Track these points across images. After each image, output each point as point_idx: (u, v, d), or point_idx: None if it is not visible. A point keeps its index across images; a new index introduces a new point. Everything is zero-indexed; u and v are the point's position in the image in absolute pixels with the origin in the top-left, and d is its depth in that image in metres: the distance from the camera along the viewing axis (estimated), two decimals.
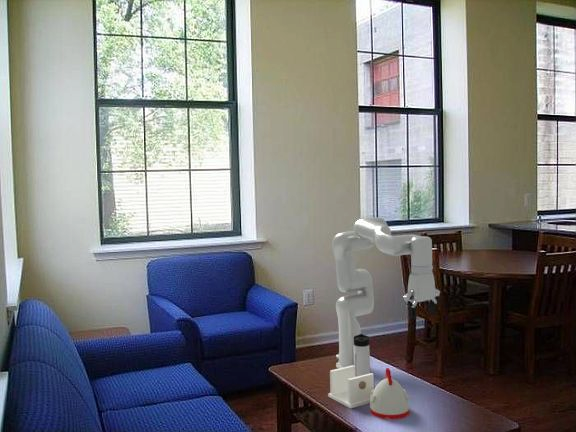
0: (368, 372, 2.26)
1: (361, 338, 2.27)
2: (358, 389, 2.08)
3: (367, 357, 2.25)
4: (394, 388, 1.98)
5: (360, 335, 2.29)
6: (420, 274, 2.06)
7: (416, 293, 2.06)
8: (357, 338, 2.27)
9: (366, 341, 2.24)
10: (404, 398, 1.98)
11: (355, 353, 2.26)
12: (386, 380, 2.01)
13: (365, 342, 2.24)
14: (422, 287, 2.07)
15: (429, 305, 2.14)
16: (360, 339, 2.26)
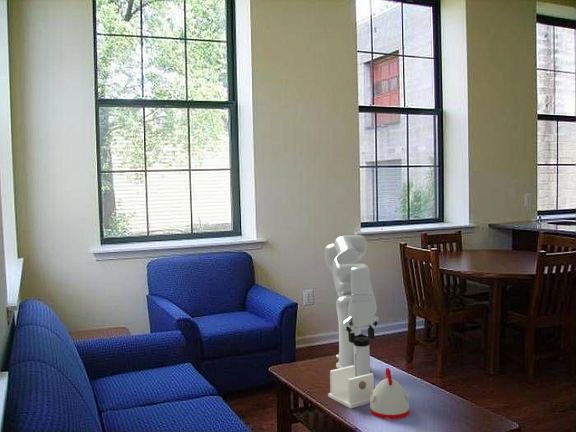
0: (368, 372, 2.26)
1: (361, 338, 2.27)
2: (358, 389, 2.08)
3: (367, 357, 2.25)
4: (394, 388, 1.98)
5: (360, 335, 2.29)
6: (358, 302, 2.22)
7: (354, 319, 2.22)
8: (357, 338, 2.27)
9: (366, 341, 2.24)
10: (404, 398, 1.98)
11: (355, 353, 2.26)
12: (386, 380, 2.01)
13: (365, 342, 2.24)
14: (360, 314, 2.23)
15: (369, 330, 2.29)
16: (360, 339, 2.26)
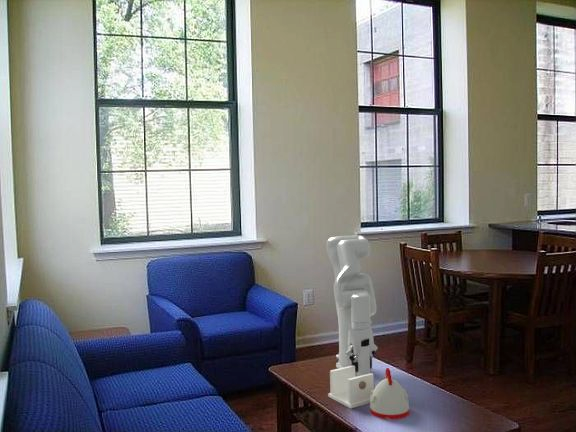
0: (368, 372, 2.26)
1: None
2: (358, 389, 2.08)
3: (367, 357, 2.25)
4: (394, 388, 1.98)
5: None
6: (358, 329, 2.23)
7: (355, 347, 2.23)
8: None
9: (366, 341, 2.24)
10: (404, 398, 1.98)
11: None
12: (386, 380, 2.01)
13: (365, 342, 2.24)
14: (360, 341, 2.24)
15: None
16: None
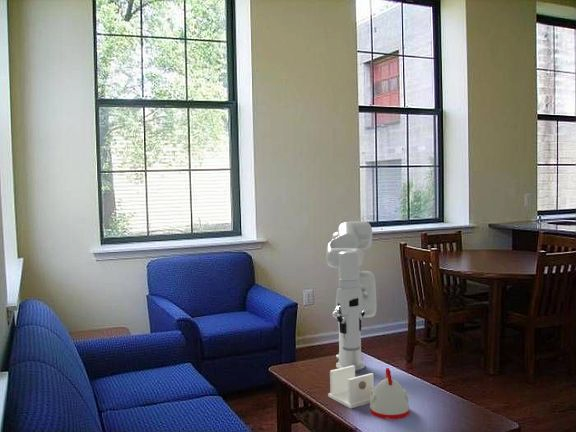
0: (357, 334, 2.11)
1: None
2: (358, 389, 2.08)
3: (356, 318, 2.10)
4: (394, 388, 1.98)
5: None
6: (347, 288, 2.08)
7: (343, 307, 2.08)
8: None
9: (355, 301, 2.09)
10: (404, 398, 1.98)
11: None
12: (386, 380, 2.01)
13: (354, 302, 2.09)
14: None
15: None
16: None
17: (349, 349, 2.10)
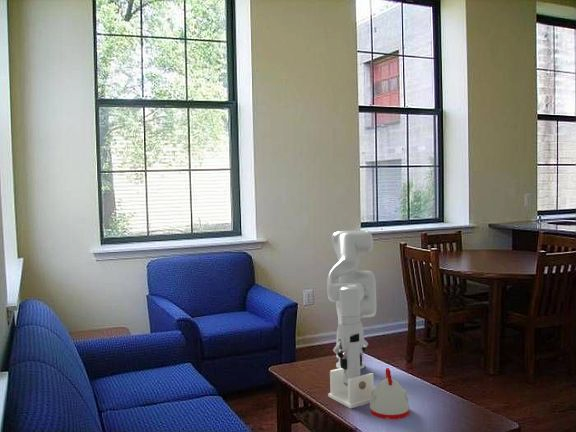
0: (358, 370, 2.11)
1: None
2: (358, 389, 2.08)
3: (357, 354, 2.11)
4: (394, 388, 1.98)
5: None
6: (347, 324, 2.09)
7: (343, 343, 2.09)
8: None
9: (356, 336, 2.10)
10: (404, 398, 1.98)
11: None
12: (386, 380, 2.01)
13: (355, 337, 2.10)
14: None
15: None
16: None
17: None
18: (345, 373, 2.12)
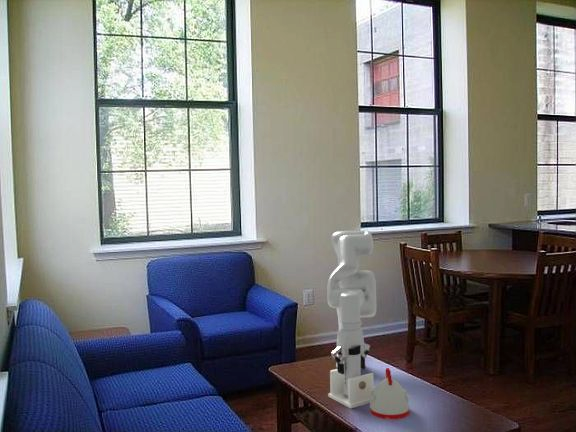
0: None
1: None
2: (358, 389, 2.08)
3: (358, 366, 2.11)
4: (394, 388, 1.98)
5: None
6: (348, 331, 2.09)
7: (344, 349, 2.09)
8: None
9: (357, 349, 2.10)
10: (404, 398, 1.98)
11: (345, 361, 2.11)
12: (386, 380, 2.01)
13: (356, 350, 2.10)
14: (350, 343, 2.10)
15: None
16: None
17: None
18: (345, 385, 2.12)
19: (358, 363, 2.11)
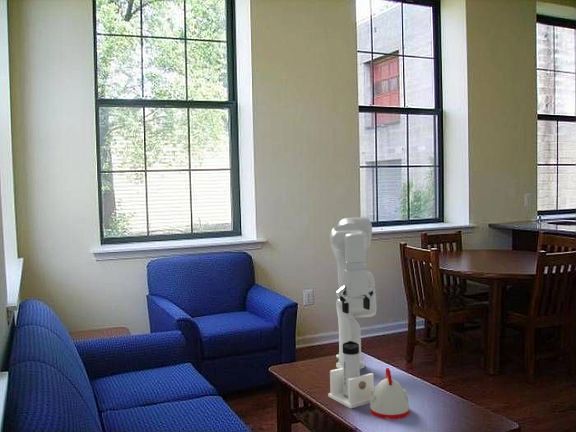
0: None
1: (350, 346, 2.13)
2: (358, 389, 2.08)
3: (357, 366, 2.11)
4: (394, 388, 1.98)
5: (349, 342, 2.16)
6: (352, 270, 2.10)
7: (348, 289, 2.10)
8: (346, 345, 2.13)
9: (356, 349, 2.11)
10: (403, 398, 1.98)
11: (344, 361, 2.12)
12: (386, 380, 2.01)
13: (355, 350, 2.10)
14: (354, 283, 2.11)
15: (364, 300, 2.17)
16: (349, 346, 2.12)
17: None
18: (345, 385, 2.12)
19: (357, 362, 2.11)
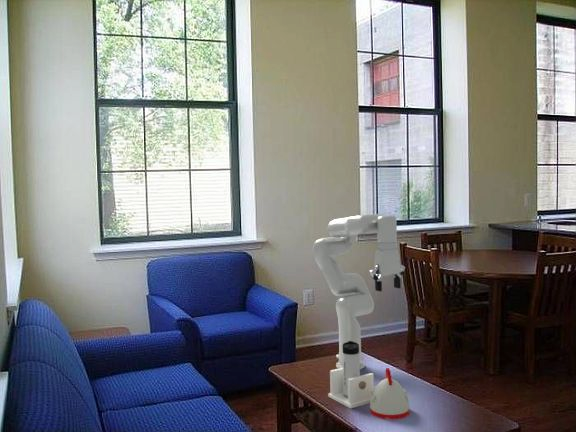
0: None
1: (350, 346, 2.13)
2: (358, 389, 2.08)
3: (357, 366, 2.11)
4: (394, 388, 1.98)
5: (349, 342, 2.16)
6: (385, 250, 2.22)
7: (381, 268, 2.22)
8: (346, 345, 2.13)
9: (356, 349, 2.11)
10: (403, 398, 1.98)
11: (344, 361, 2.12)
12: (386, 380, 2.01)
13: (355, 350, 2.10)
14: (387, 262, 2.23)
15: (395, 280, 2.29)
16: (349, 346, 2.12)
17: None
18: (345, 385, 2.12)
19: (357, 362, 2.11)
